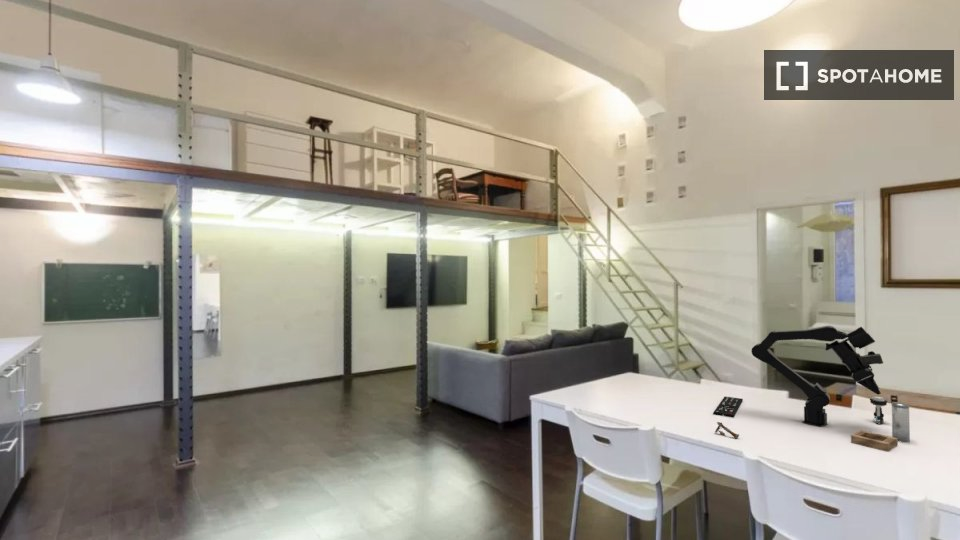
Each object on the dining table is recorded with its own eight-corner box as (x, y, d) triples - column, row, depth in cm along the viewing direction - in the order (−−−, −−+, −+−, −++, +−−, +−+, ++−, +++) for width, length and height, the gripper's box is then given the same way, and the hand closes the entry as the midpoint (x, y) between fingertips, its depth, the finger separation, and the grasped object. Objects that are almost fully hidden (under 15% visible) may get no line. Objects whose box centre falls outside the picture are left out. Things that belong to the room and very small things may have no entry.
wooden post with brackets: (714, 429, 170) (719, 419, 169) (734, 443, 164) (739, 434, 163) (712, 430, 169) (716, 420, 168) (732, 445, 163) (737, 435, 162)
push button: (887, 426, 176) (886, 400, 176) (869, 423, 180) (868, 398, 180) (888, 422, 181) (887, 397, 181) (870, 419, 184) (870, 395, 185)
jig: (851, 442, 159) (851, 435, 159) (861, 437, 164) (861, 430, 164) (888, 451, 150) (887, 444, 150) (897, 445, 156) (897, 438, 156)
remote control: (713, 415, 192) (713, 411, 192) (724, 399, 217) (724, 395, 217) (733, 419, 187) (733, 414, 187) (742, 402, 213) (742, 397, 213)
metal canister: (890, 439, 162) (889, 403, 162) (894, 436, 164) (893, 401, 165) (907, 443, 158) (907, 406, 158) (911, 440, 160) (911, 404, 161)
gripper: (871, 347, 162) (905, 386, 157) (868, 341, 177) (899, 377, 171) (839, 362, 168) (871, 400, 162) (839, 355, 183) (868, 390, 177)
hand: (878, 391), depth 168 cm, fingers open, 9 cm apart
